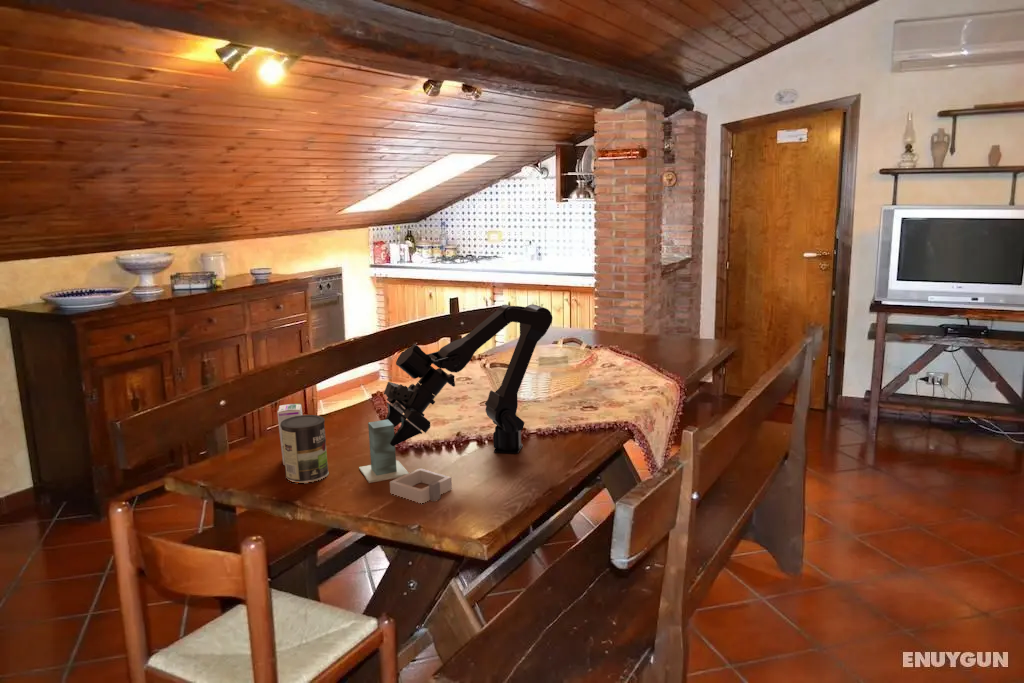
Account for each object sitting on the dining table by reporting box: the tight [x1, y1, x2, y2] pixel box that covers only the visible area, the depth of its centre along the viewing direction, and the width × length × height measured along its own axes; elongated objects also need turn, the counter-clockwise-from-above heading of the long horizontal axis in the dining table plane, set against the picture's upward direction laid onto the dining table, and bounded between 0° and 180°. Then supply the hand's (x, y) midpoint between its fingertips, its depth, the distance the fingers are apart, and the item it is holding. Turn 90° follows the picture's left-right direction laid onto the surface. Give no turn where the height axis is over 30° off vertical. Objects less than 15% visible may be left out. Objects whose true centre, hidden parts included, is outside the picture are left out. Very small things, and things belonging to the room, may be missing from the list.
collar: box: [389, 467, 453, 505], centre depth 181 cm, size 10×11×4 cm
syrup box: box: [277, 403, 303, 466], centre depth 202 cm, size 6×6×14 cm
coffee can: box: [281, 414, 330, 484], centre depth 192 cm, size 10×10×14 cm
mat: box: [358, 459, 410, 484], centre depth 194 cm, size 10×10×1 cm
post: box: [367, 419, 397, 475], centre depth 193 cm, size 5×5×12 cm
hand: (386, 439), depth 193 cm, fingers open, 9 cm apart
